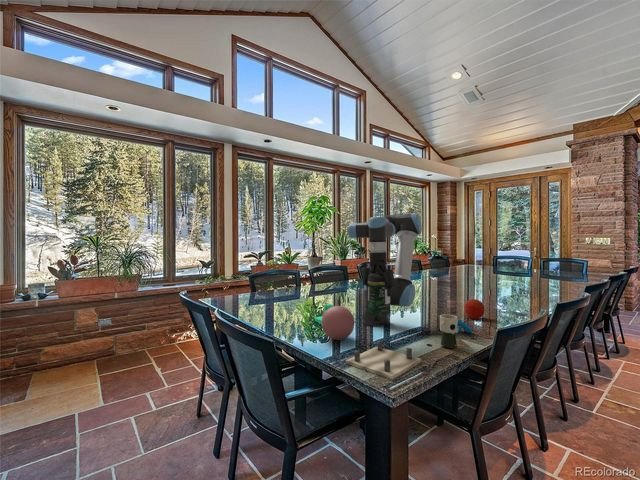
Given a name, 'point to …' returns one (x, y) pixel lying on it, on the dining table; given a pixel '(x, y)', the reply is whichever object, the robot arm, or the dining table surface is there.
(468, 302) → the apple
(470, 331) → the blue irregular piece
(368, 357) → the locator plate
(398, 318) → the dining table surface
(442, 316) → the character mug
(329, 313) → the pink ovoid
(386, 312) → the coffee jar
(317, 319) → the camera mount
